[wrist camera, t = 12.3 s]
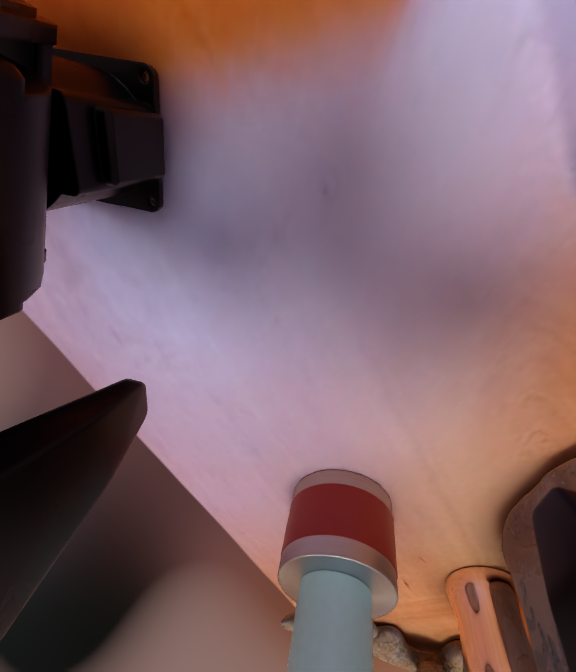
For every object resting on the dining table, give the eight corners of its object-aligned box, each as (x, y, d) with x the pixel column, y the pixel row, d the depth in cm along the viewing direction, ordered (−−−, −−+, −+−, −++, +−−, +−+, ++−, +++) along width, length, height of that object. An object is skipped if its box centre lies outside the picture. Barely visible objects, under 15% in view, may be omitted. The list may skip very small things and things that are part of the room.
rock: (287, 597, 34) (282, 574, 41) (273, 661, 32) (271, 626, 39) (487, 652, 34) (450, 620, 40) (485, 720, 32) (446, 675, 39)
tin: (287, 517, 31) (270, 599, 25) (302, 458, 27) (285, 540, 21) (376, 542, 30) (379, 632, 25) (405, 485, 26) (417, 578, 21)
